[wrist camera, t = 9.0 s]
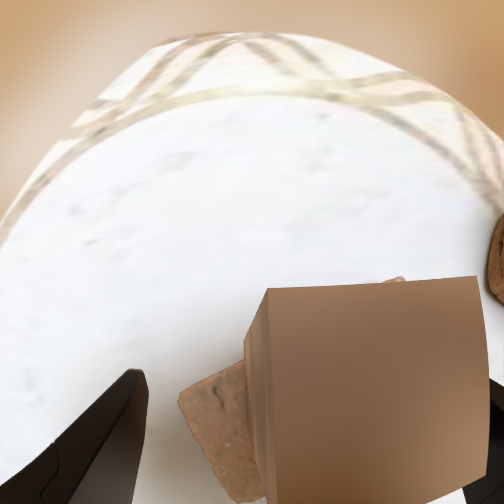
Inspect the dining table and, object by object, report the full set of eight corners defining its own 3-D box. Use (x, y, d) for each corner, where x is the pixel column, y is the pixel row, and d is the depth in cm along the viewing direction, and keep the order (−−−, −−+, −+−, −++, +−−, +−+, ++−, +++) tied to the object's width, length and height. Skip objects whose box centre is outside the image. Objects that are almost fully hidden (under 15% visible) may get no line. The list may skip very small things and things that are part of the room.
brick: (234, 489, 18) (234, 516, 13) (177, 389, 20) (163, 395, 16) (423, 375, 21) (459, 373, 17) (376, 285, 23) (405, 266, 19)
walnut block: (337, 420, 16) (485, 475, 4) (247, 429, 15) (278, 539, 4) (332, 335, 17) (476, 275, 6) (243, 341, 17) (267, 288, 6)
